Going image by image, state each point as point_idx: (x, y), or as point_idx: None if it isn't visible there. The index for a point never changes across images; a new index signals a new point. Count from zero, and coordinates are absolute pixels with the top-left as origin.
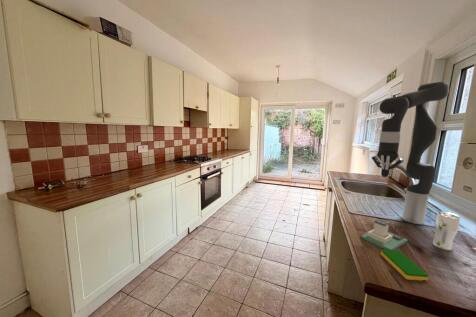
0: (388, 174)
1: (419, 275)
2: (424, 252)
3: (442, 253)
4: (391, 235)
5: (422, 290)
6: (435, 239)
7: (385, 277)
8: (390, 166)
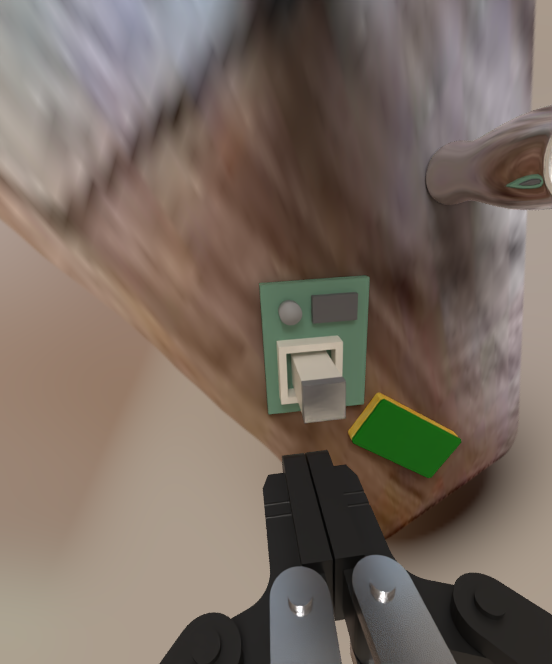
0: (356, 492)
1: (447, 457)
2: (421, 297)
3: (460, 241)
4: (340, 347)
5: (451, 472)
6: (447, 191)
7: (394, 502)
8: (436, 641)
